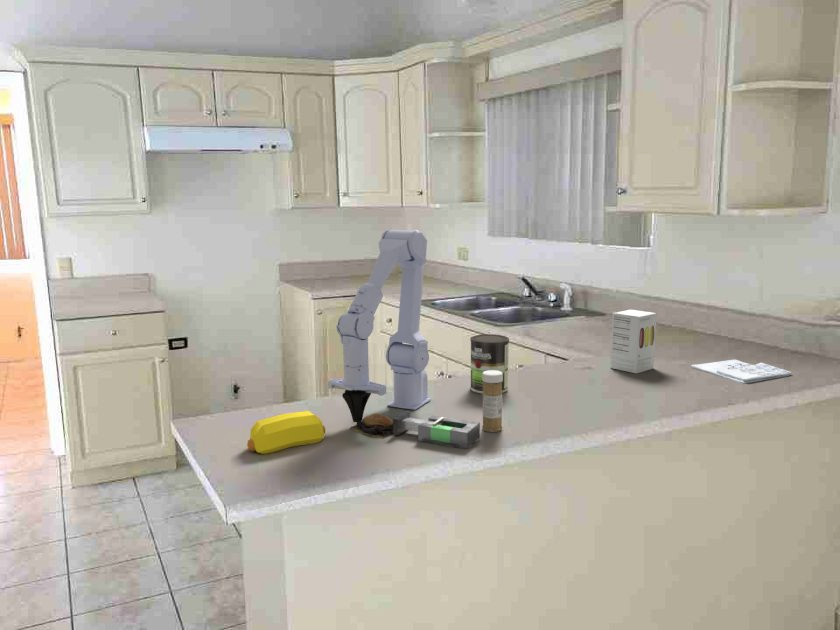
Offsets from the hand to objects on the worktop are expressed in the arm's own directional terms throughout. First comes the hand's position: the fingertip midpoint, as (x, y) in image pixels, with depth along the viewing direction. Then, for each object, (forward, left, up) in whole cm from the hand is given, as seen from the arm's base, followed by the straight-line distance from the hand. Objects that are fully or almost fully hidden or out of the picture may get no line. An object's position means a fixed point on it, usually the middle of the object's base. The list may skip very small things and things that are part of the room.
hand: (357, 421), depth 170 cm
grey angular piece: (0, +16, -1) cm, 16 cm away
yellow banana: (+17, -8, -2) cm, 19 cm away
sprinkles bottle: (-10, +29, -1) cm, 31 cm away
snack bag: (-86, +77, -2) cm, 116 cm away
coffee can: (-40, +17, -1) cm, 44 cm away
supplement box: (-77, +48, -1) cm, 91 cm away
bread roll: (0, +6, -2) cm, 6 cm away
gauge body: (0, +23, -1) cm, 23 cm away
